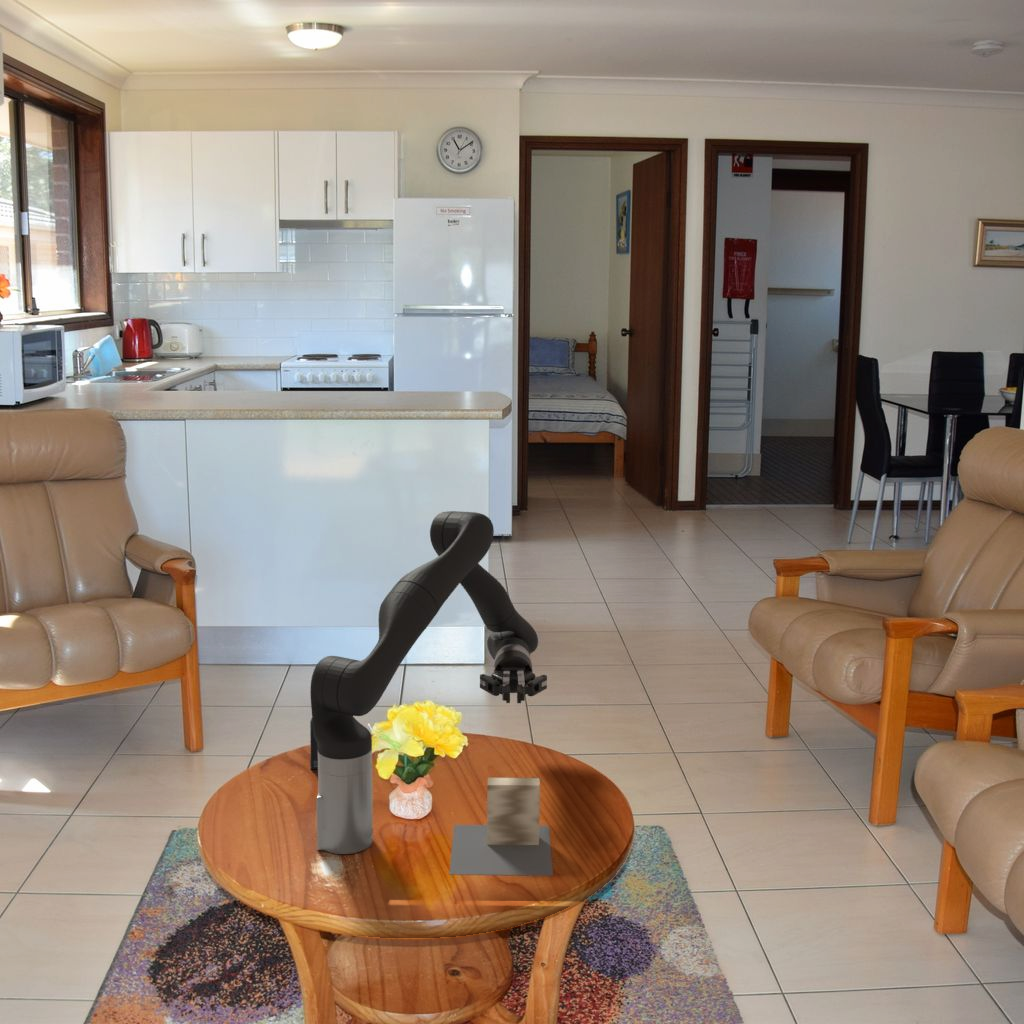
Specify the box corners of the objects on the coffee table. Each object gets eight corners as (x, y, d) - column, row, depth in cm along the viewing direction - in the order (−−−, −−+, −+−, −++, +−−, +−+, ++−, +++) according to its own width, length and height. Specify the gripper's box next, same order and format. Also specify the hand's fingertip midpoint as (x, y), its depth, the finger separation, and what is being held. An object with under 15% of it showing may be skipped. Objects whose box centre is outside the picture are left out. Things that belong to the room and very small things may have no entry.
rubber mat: (449, 877, 191) (449, 874, 191) (454, 827, 209) (454, 824, 209) (552, 878, 191) (552, 875, 191) (548, 828, 209) (548, 825, 209)
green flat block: (486, 844, 201) (487, 785, 199) (487, 836, 204) (487, 777, 202) (538, 845, 201) (540, 785, 199) (538, 836, 205) (539, 777, 202)
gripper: (478, 648, 228) (476, 678, 211) (548, 649, 228) (551, 678, 211) (478, 685, 229) (476, 717, 212) (547, 686, 229) (550, 718, 212)
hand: (513, 698), depth 212 cm, fingers closed
